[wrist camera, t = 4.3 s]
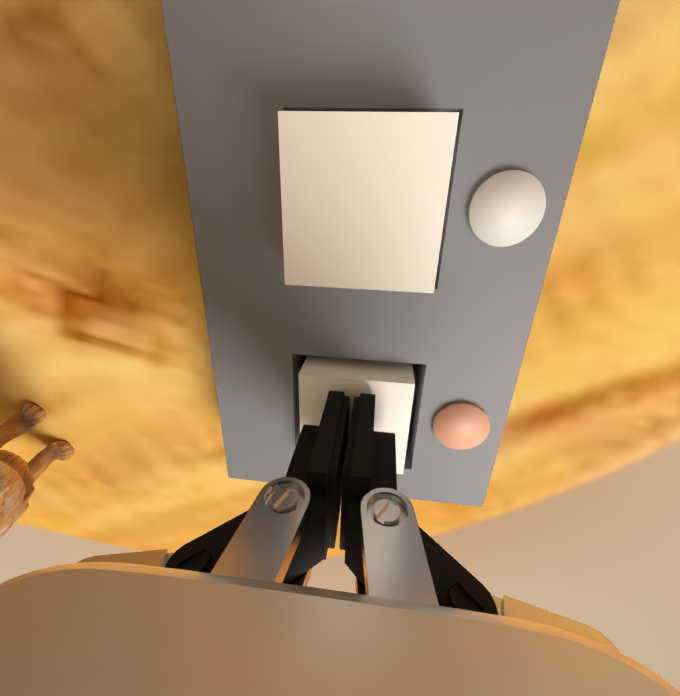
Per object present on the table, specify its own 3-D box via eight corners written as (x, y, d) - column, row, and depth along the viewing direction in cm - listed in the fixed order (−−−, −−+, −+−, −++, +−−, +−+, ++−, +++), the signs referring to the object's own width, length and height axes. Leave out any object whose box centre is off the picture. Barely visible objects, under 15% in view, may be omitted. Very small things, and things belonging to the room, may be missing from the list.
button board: (179, -304, 9) (79, -539, 6) (654, -359, 8) (811, -681, 5) (251, 434, 19) (226, 480, 16) (467, 456, 17) (483, 511, 15)
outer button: (316, 335, 15) (298, 374, 12) (409, 342, 15) (414, 383, 12) (316, 412, 17) (300, 462, 14) (400, 419, 17) (403, 474, 14)
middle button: (308, 131, 11) (277, 110, 8) (438, 133, 11) (459, 112, 8) (310, 260, 13) (284, 284, 10) (421, 266, 12) (433, 293, 9)
